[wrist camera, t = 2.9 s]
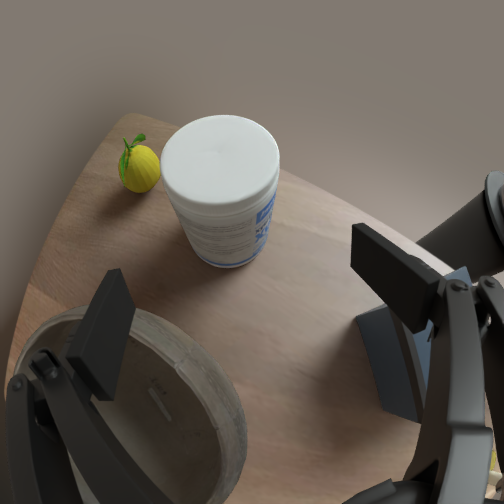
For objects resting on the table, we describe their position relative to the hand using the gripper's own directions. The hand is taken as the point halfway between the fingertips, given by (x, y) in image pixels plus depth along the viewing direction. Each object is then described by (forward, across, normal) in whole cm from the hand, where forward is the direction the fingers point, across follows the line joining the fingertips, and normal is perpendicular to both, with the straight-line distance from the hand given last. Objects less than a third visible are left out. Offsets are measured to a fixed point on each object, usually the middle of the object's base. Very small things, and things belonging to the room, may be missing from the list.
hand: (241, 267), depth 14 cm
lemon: (+25, -10, +1) cm, 27 cm away
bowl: (+5, -12, -19) cm, 23 cm away
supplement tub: (+18, 0, -5) cm, 19 cm away
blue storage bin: (+5, +20, -19) cm, 28 cm away
